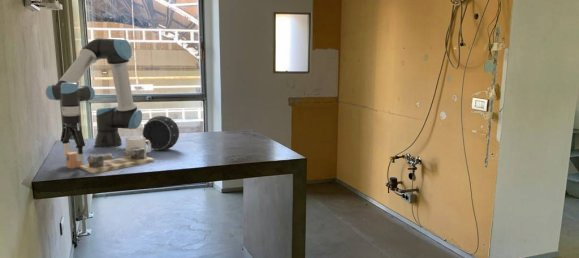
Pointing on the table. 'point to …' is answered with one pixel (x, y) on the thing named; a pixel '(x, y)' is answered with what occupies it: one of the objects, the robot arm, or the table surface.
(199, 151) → the table surface
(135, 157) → the shaft bench
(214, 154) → the table surface
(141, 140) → the mug
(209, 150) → the table surface
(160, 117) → the black drum
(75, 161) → the coupler
